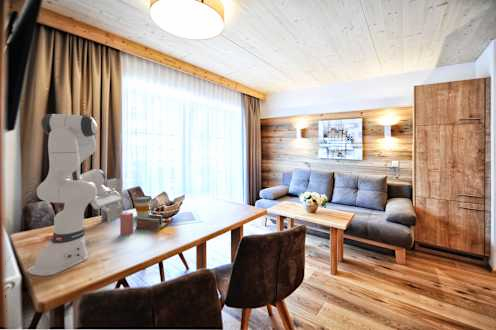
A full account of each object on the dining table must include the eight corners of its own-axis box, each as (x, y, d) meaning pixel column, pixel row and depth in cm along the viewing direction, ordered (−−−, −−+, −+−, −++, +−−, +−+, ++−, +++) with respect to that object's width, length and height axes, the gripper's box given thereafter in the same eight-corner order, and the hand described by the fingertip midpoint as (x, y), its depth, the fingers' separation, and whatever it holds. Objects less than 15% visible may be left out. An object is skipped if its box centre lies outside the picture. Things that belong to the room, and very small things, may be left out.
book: (128, 234, 137) (128, 214, 136) (120, 234, 138) (120, 214, 137) (133, 232, 141) (132, 213, 140) (124, 231, 142) (124, 212, 141)
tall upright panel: (107, 221, 158) (106, 181, 156) (101, 221, 160) (100, 180, 157) (122, 215, 172) (122, 178, 170) (116, 215, 173) (116, 178, 171)
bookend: (161, 224, 153) (161, 215, 153) (148, 222, 155) (148, 214, 154) (162, 223, 154) (162, 215, 154) (149, 222, 156) (149, 214, 156)
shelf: (157, 231, 144) (157, 220, 143) (135, 229, 146) (135, 218, 146) (166, 225, 155) (166, 215, 155) (146, 223, 158) (146, 213, 157)
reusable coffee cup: (144, 212, 183) (144, 195, 182) (155, 215, 177) (155, 197, 176) (131, 216, 172) (130, 198, 170) (141, 219, 166) (141, 200, 165)
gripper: (89, 193, 130) (104, 211, 129) (115, 187, 150) (128, 202, 149) (83, 200, 131) (98, 217, 130) (110, 193, 151) (123, 208, 150)
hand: (114, 209), depth 140 cm, fingers open, 8 cm apart
